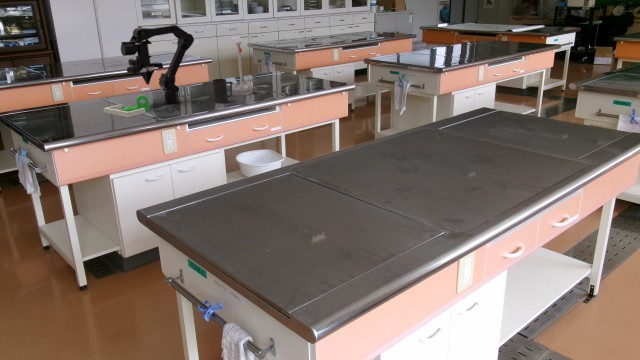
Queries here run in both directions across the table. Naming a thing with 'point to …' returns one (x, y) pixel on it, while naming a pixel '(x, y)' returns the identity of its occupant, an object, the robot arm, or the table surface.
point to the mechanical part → (139, 104)
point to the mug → (221, 90)
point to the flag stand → (241, 88)
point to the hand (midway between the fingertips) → (147, 84)
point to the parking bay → (117, 111)
